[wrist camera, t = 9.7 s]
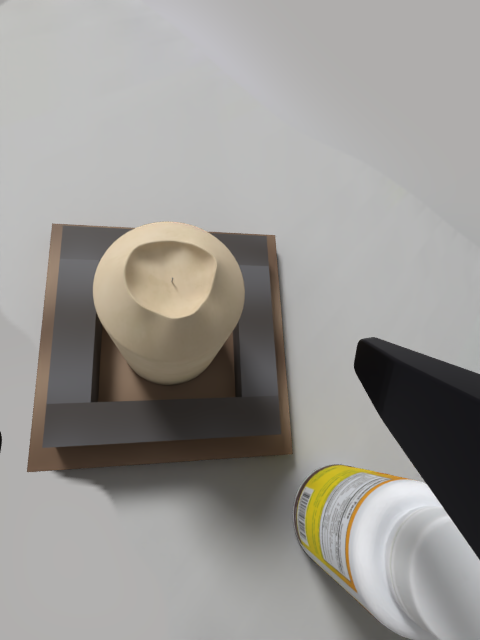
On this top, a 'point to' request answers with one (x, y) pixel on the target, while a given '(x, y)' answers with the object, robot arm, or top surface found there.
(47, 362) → the socket
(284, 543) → the top surface
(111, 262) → the candle
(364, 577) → the supplement bottle
